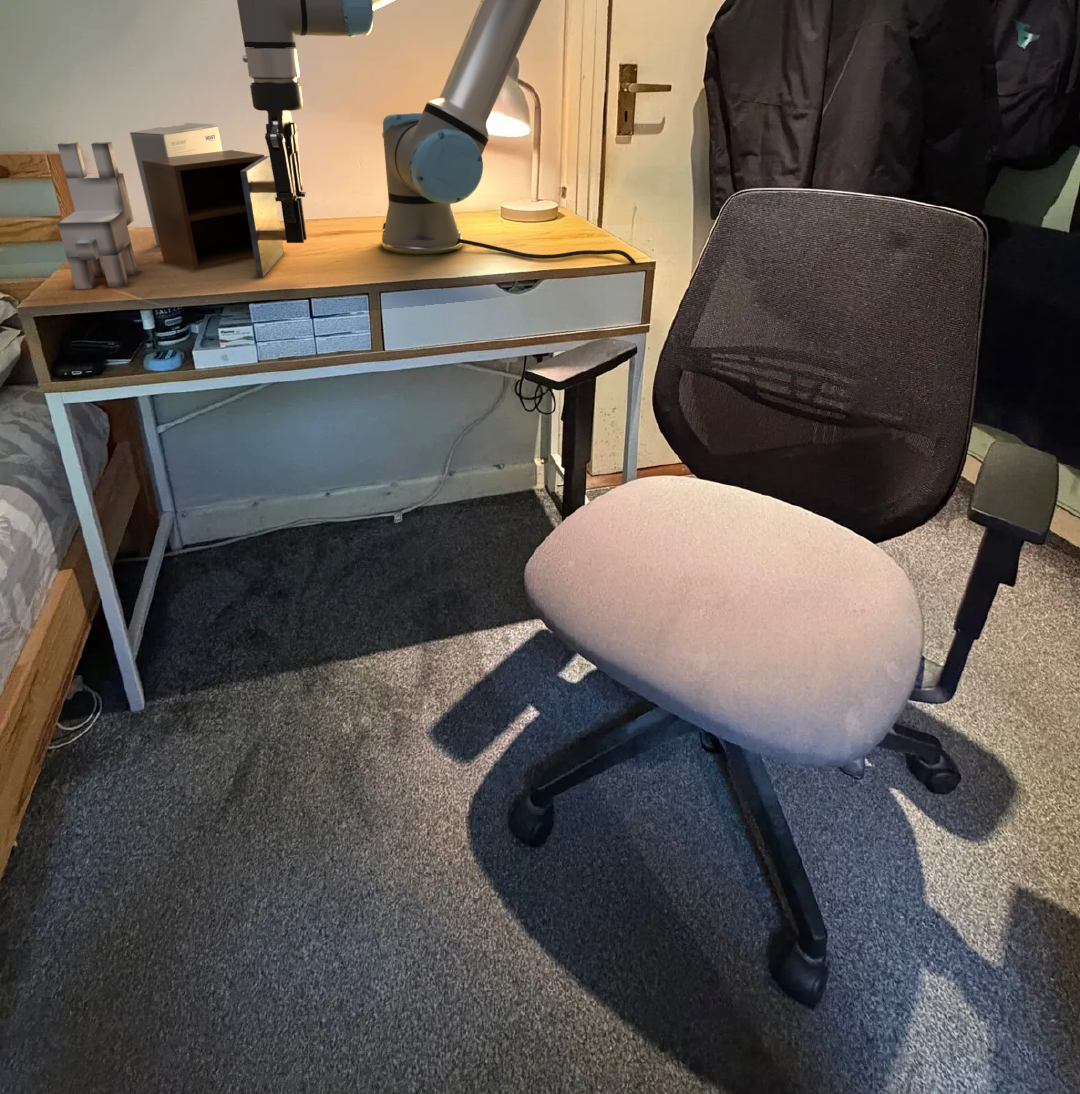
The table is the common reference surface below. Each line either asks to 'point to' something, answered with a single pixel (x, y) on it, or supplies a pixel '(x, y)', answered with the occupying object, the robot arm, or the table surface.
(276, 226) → the cupboard door
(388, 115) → the robot arm
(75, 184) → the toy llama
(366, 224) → the table surface
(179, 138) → the hard drive box
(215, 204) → the cupboard
